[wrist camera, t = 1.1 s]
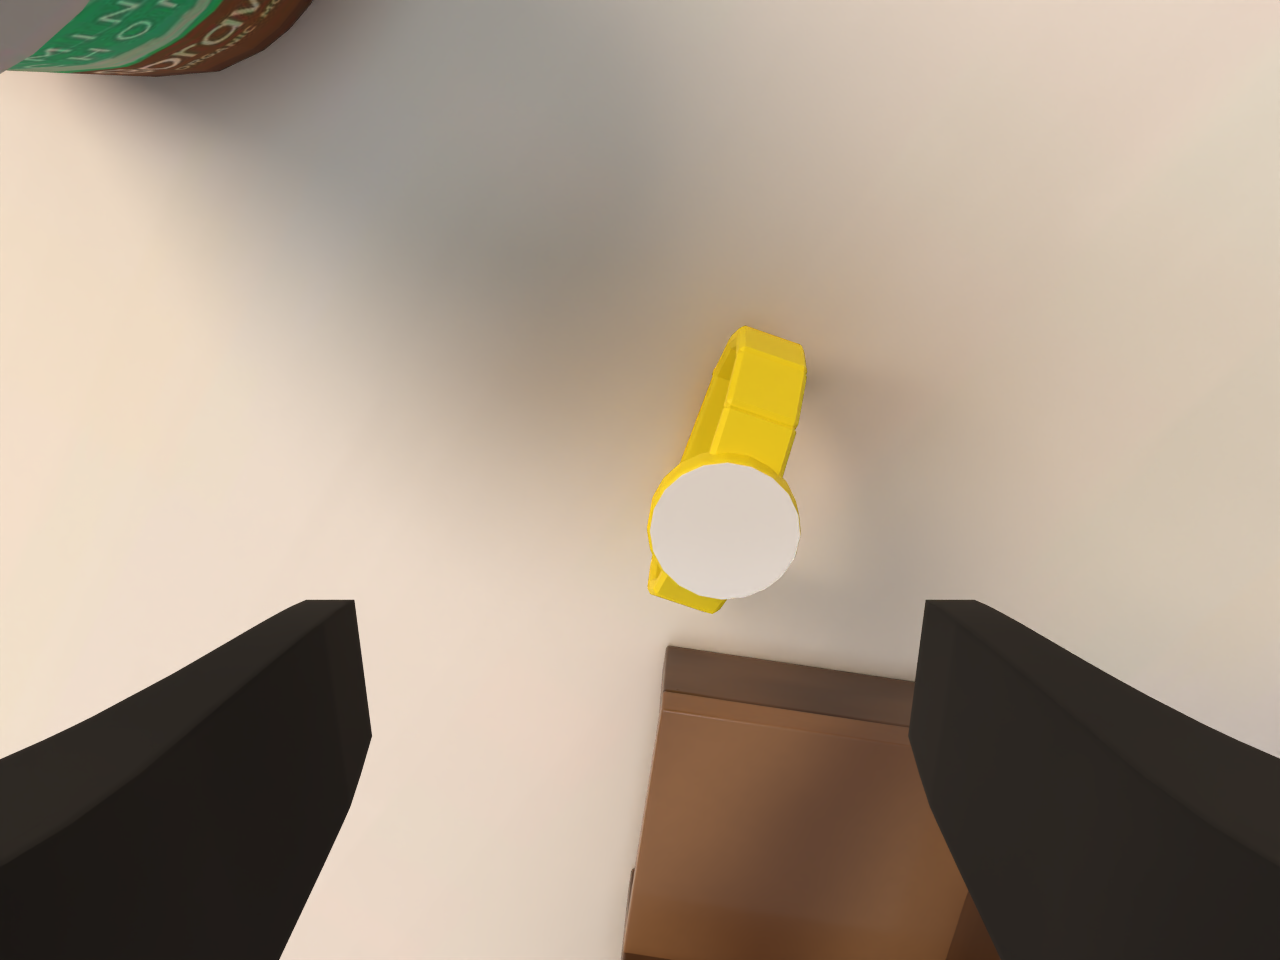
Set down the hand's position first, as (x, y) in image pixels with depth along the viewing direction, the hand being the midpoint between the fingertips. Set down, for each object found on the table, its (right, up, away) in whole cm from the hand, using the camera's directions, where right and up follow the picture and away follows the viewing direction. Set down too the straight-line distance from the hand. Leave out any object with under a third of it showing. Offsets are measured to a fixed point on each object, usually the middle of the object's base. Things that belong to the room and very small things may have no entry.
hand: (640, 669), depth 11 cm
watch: (+2, +4, +10) cm, 11 cm away
